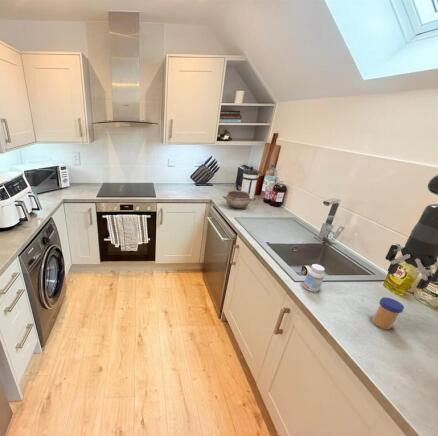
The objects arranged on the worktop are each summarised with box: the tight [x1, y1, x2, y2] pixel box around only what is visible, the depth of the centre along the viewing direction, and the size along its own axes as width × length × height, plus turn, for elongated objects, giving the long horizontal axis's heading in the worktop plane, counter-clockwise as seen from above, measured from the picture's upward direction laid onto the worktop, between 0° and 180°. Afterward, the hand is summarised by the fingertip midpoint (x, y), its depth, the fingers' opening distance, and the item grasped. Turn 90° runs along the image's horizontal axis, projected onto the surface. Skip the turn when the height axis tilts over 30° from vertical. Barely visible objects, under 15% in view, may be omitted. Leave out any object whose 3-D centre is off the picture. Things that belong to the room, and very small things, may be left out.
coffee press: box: [235, 166, 260, 201], centre depth 213 cm, size 17×16×30 cm
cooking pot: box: [222, 189, 255, 210], centre depth 196 cm, size 25×19×12 cm
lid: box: [379, 297, 405, 314], centre depth 84 cm, size 6×6×2 cm
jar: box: [371, 304, 400, 330], centre depth 86 cm, size 5×5×9 cm
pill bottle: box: [302, 263, 326, 293], centre depth 103 cm, size 6×6×11 cm
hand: (404, 280), depth 79 cm, fingers open, 7 cm apart
